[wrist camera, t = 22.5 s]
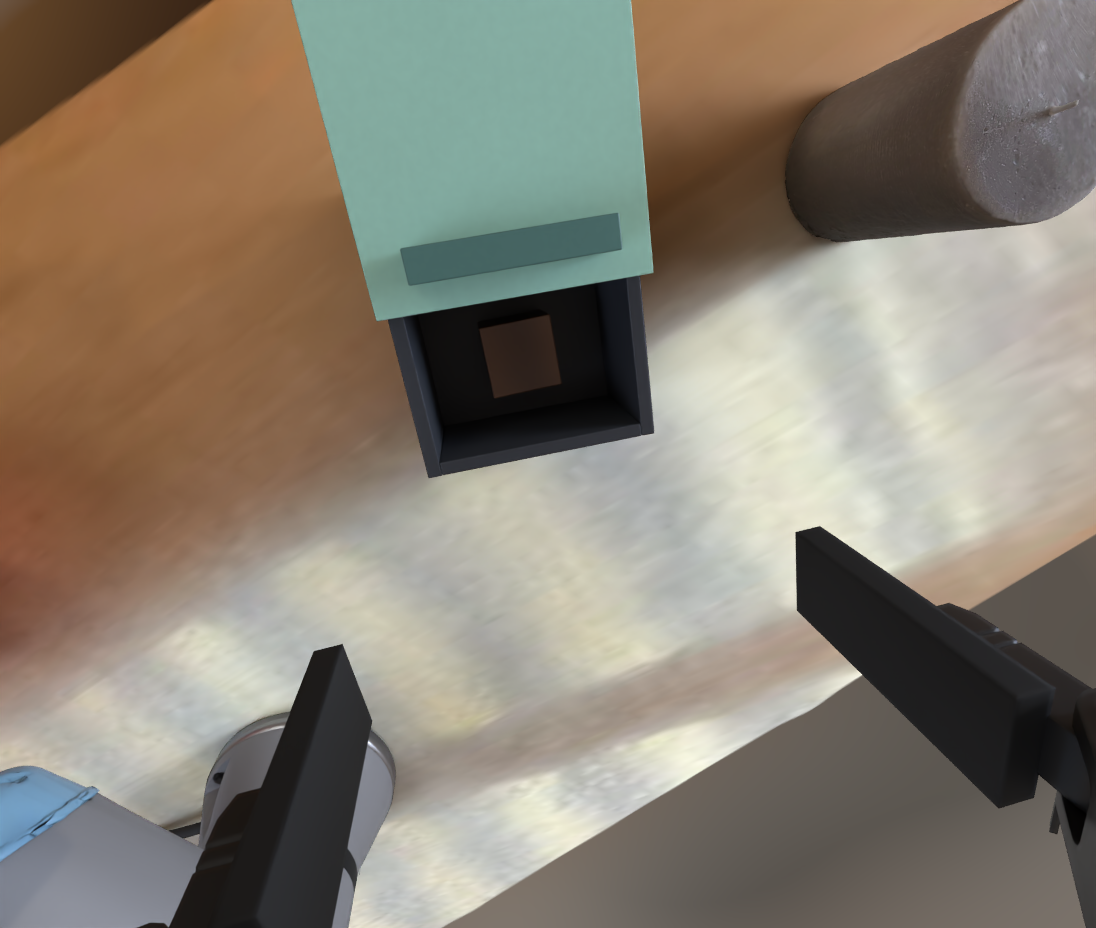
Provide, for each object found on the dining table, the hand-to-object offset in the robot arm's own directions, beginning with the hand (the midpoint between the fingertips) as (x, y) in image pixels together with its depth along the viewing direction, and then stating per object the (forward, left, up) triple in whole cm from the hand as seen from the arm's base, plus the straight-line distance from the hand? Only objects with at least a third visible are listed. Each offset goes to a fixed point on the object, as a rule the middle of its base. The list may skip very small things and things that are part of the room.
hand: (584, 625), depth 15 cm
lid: (+1, +17, -17) cm, 24 cm away
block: (+1, +4, -25) cm, 25 cm away
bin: (+1, +7, -26) cm, 27 cm away
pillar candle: (+26, +12, -26) cm, 39 cm away
